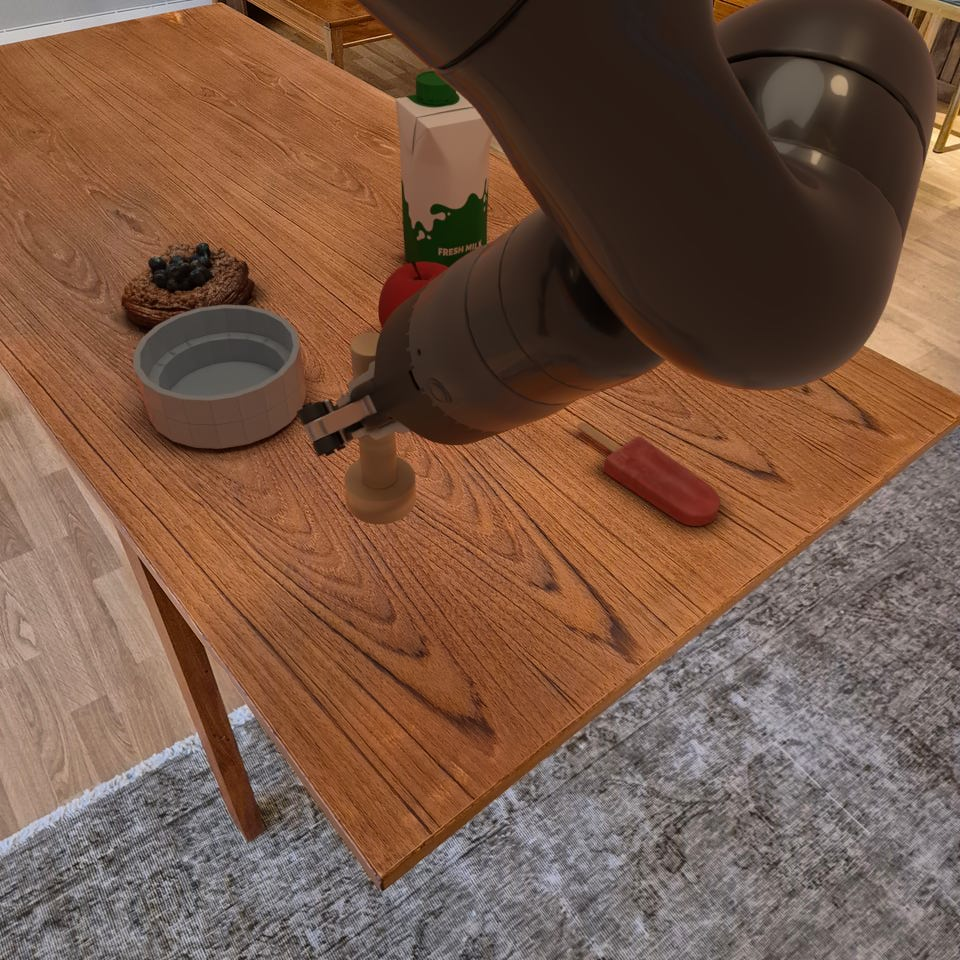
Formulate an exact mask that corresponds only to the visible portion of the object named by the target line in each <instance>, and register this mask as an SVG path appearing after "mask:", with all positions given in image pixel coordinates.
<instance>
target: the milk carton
mask: <svg viewBox="0 0 960 960" xmlns="http://www.w3.org/2000/svg"><path fill="white" fill-rule="evenodd" d="M395 107H396V117H397V127H398V138H399V154H400V155H399V156H400V157H399V158H400V182H401V184H400V185H401V208H402V209H401V210H402V211H401V212H402V232H403V247H404V248H403V249H404V258H405V259H406V261H407V262H408V264H410V263H411V260H413V259H414V261H415V263H416V262H433V263H438V264H441V265H445V266H447V267H450V266H451V265H452V264H454V263H455V262H456V261H457V260H459V259H461V258H462V257H464V256H465V255H467V254H468V253H470V252H471V251H473V250H475V249H477V248H479V247H482V246H484V245H486V244H488V208H489V207H488V206H489V180H490V178H489V177H490V175H489V174H490V152H491V151H490V150H491V143H492V138H493V134H492V132H491V131H490V129H489V128H488V126H487V125H486V123H485V122H484V120H483V119H482V117H481V116H480V115H479V113H478V112H477V111H476V109H475V108H474V107H473V106H472V105H471V104H470V103H469V102H468V101H467V100H466V99H465V98H464V97H463V96H462V95H460V94H459V93H458V92H457V91H456V90H455V89H453V88H452V87H451V86H450V85H449V84H447V83H446V82H445V81H444V80H443V79H441V78H440V77H439V76H438V75H437V74H436V73H435V71H434V70H428V71H423V72H421V73H418V74H417V75H416V77H415V94H409V95H406V96H405V97H398V98H395Z"/></svg>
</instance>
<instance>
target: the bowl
mask: <svg viewBox="0 0 960 960" xmlns="http://www.w3.org/2000/svg"><path fill="white" fill-rule="evenodd" d="M132 355H133V356H132V357H133V358H132V363H133V364H132V368H133V372H134V375H135V379H136V382H137V385H138V388H139V391H140V395H141V398H142V402H143V405H144V408H145V411H146V415H147V418H148V419H149V421H150V422H151V424H152V426H153V427H154V429H155V431H157V432H158V433H160V434H161V435H163V436H164V437H165V438H167V439H169V440H170V441H171V442H174V443H177V444H180V445H184V446H188V447H191V448H196V449H215V450H216V449H217V450H220V449H229V448H234V447H241V446H246V445H250V444H252V443H255V442H258V441H260V440H263V439H266V438H268V437H271V436H273V435H274V434H276V433H277V432H279V431H281V430H282V429H283V428H285V427H286V426H288V425H289V424H290V423H292V422H293V420H294V419H295V418H296V417H297V416H298V414H297V411H299V410H300V409H302V406H303V405H305V400H306V397H307V385H306V378H305V371H304V370H305V369H304V363H303V356H302V348H301V343H300V339H299V335H298V331H297V330H296V328H294V326H292V324H291V323H290V322H289V321H288V320H287V318H284V317H283V316H280V315H279V314H277V313H275V312H274V311H271V310H268V309H264V308H260V307H256V306H252V305H247V306H245V305H217V306H209V307H202V308H197V309H194V310H191V311H187V312H184V313H181V314H177V315H175V316H173V317H171V318H169V319H168V320H166V321H164V322H162V323H160V324H158V325H157V326H155V327H154V328H153V329H152V330H151V331H149V332H146V334H145V335H144V336H142V337H141V339H140V340H139V342H138V344H137V346H136V348H135V350H134V351H133V354H132Z"/></svg>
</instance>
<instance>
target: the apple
mask: <svg viewBox="0 0 960 960" xmlns="http://www.w3.org/2000/svg"><path fill="white" fill-rule="evenodd" d="M447 268H448V267H447V266H445V265H441V264H438V263H433V262H416V263H415V261H414V259H413V260H411V263H407V264H404V265H402V266H400V267H398V268H397V269H395V271H393V272H391V274H390V275H389V276H388V277H387V278H386V280H385V282H384V284H383V286H382V289H381V291H380V294H379V298H378V306H377V307H378V308H377V309H378V310H377V311H378V322H379V324H380V328H381V329H382V328H383V326H384V324H385V322H386V321H387V319H388V317H389V316H390V315H391V314H392V312H393V311H394V310H395V309H396V308H397V307H398V306H399V305H400V304H402V303H403V302H404V301H406V300H407V299H408V298H409V297H411V296H412V295H413V294H415V293H416V292H417V291H418V290H420V289H421V288H422V287H424V286H425V285H426V284H428V283H429V282H430V281H431V280H433V279H434V278H435V277H437V276H438V275H440V274H441V273H442V272H443V271H445V270H446V269H447Z"/></svg>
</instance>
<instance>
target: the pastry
mask: <svg viewBox="0 0 960 960" xmlns="http://www.w3.org/2000/svg"><path fill="white" fill-rule="evenodd" d="M167 247H168V248H166V250H165V251H164V252H163V253H162V254H160V256H159V257H158V256H155V255H154V256H153V257H150V258H149V259H148V261H147V265H148V267H146V268H145V269H144V270H143V271H142V273H140V274H137V275H136V276H135V277H134V278H132V279H131V280H129V281H128V284H127V285H125V286H124V287H123V293H122V295H121V298H120V299H121V307H123V308H124V310H125V311H126V312H125V313H126V314H125V315H126V317H127V319H128V320H129V322H131V323H132V324H133V326H135V327H136V328H138V329H139V330H141V331H142V332H145V333H148V332H149V331H151V330H152V329H153V328H154V327H155V326H157V325H158V324H160V323H162V322H164V321H166V320H168V319H169V318H171V317H173V316H175V315H177V314H181V313H184V312H187V311H191V310H194V309H197V308H202V307H209V306H217V305H245V306H249V304H250V303H251V302H252V301H253V300H254V298H256V297H255V296H256V295H257V294H256V290H255V287H256V284H255V281H253V279H251V278H249V274H250V268H249V266H248V263H247V261H246V260H242V259H241V260H240V259H238V258H237V256H231V255H230V254H229V252H227V251H226V250H225V249H224V248H223V247H218V249H212V250H211V249H210V245H209V243H207V242H200V243H198V244H195V246H193V245H191V244H189V243H180V242H178V243H177V244H175V243H174V244H170V245H168V246H167Z"/></svg>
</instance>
